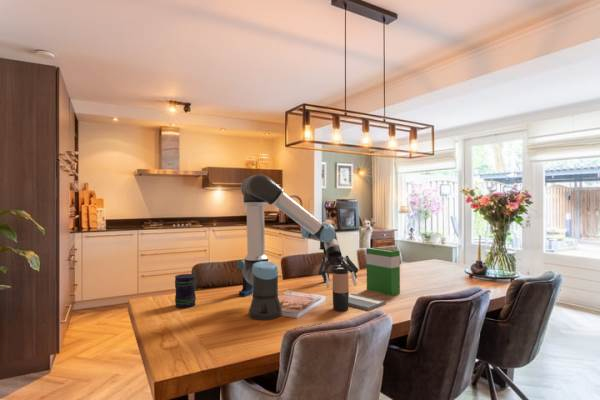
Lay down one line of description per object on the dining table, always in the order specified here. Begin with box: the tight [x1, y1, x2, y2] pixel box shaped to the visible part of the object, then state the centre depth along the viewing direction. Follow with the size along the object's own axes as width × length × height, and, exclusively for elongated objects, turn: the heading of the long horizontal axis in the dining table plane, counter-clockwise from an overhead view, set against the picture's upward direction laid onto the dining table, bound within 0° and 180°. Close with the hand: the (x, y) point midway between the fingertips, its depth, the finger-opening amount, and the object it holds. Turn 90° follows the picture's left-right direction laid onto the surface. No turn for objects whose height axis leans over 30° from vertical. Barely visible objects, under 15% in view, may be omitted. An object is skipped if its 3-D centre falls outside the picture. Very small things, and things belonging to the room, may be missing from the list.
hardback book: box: [365, 246, 401, 297], centre depth 200 cm, size 18×7×24 cm, turn 38°
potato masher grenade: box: [319, 241, 330, 283], centre depth 225 cm, size 8×9×30 cm
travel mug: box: [332, 265, 350, 312], centre depth 168 cm, size 8×8×20 cm
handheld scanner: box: [236, 259, 253, 297], centre depth 198 cm, size 5×16×20 cm, turn 152°
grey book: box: [348, 293, 386, 312], centre depth 178 cm, size 15×21×2 cm
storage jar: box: [174, 273, 197, 310], centre depth 176 cm, size 10×10×15 cm
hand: (342, 285), depth 169 cm, fingers open, 13 cm apart
